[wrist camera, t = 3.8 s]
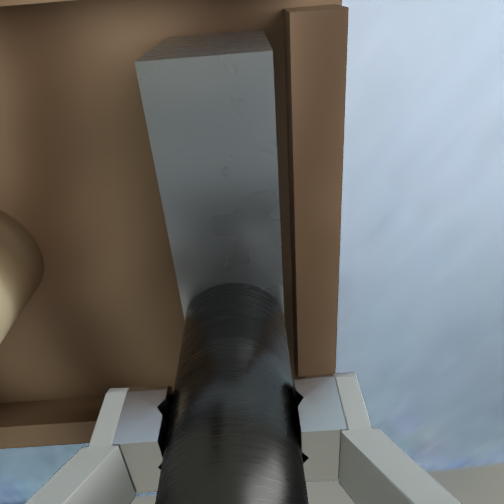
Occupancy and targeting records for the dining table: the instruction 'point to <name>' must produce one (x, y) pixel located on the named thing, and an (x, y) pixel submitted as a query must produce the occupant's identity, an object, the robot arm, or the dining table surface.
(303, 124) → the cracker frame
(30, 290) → the beige wooden cylinder
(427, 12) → the dining table surface
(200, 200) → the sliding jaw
